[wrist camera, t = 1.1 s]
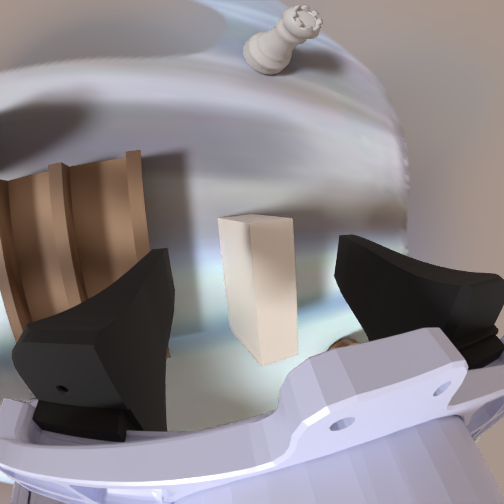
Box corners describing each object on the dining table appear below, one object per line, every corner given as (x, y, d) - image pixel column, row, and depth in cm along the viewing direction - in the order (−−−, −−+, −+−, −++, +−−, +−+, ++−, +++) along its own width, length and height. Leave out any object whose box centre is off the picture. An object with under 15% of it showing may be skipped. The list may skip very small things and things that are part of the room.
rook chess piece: (258, 83, 23) (305, 46, 16) (231, 47, 22) (269, 0, 14) (292, 67, 24) (342, 33, 17) (267, 33, 23) (310, -8, 15)
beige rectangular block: (260, 321, 27) (298, 354, 21) (229, 328, 26) (261, 366, 20) (251, 213, 25) (292, 218, 19) (217, 217, 24) (249, 223, 18)
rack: (165, 338, 24) (170, 357, 21) (31, 357, 19) (20, 377, 16) (139, 158, 21) (140, 150, 17) (-6, 186, 16) (-25, 184, 13)
